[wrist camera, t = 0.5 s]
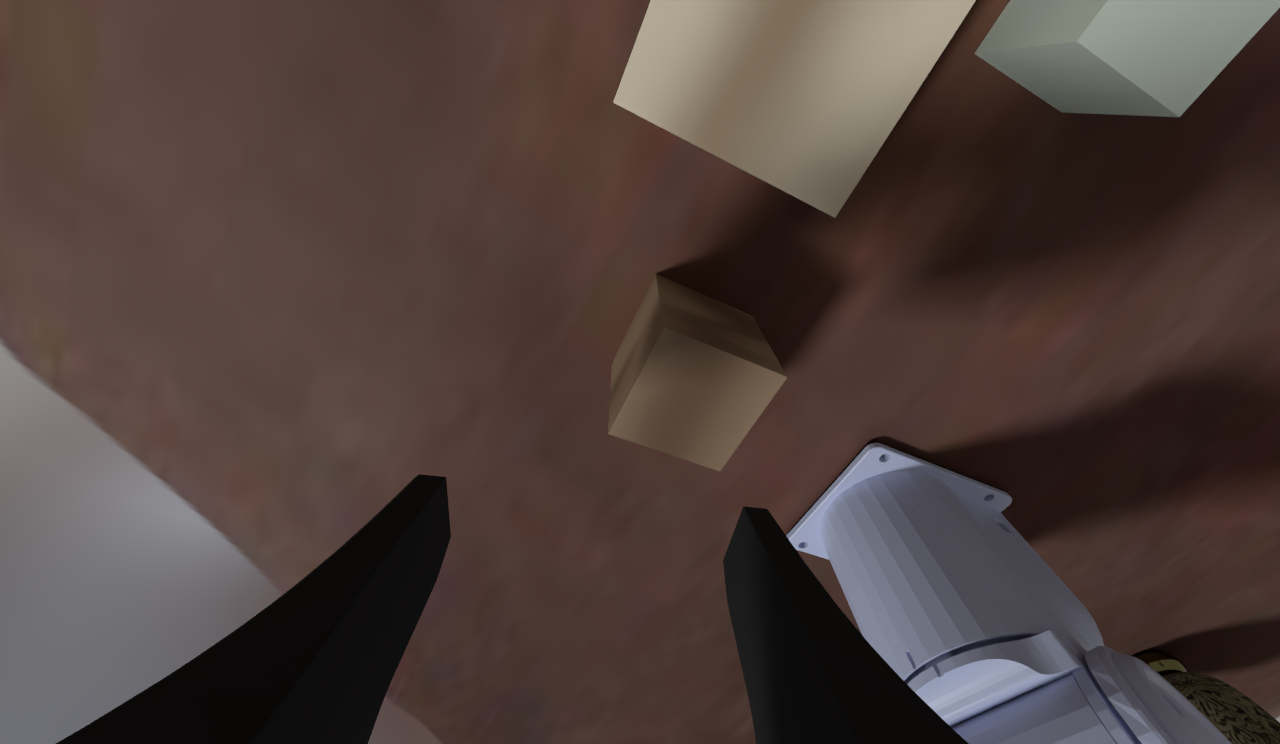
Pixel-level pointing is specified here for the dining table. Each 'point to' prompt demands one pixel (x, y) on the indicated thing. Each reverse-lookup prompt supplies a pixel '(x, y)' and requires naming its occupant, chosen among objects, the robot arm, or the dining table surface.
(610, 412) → the walnut block
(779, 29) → the maple base block
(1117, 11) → the sage cube
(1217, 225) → the dining table surface
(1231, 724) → the cup
